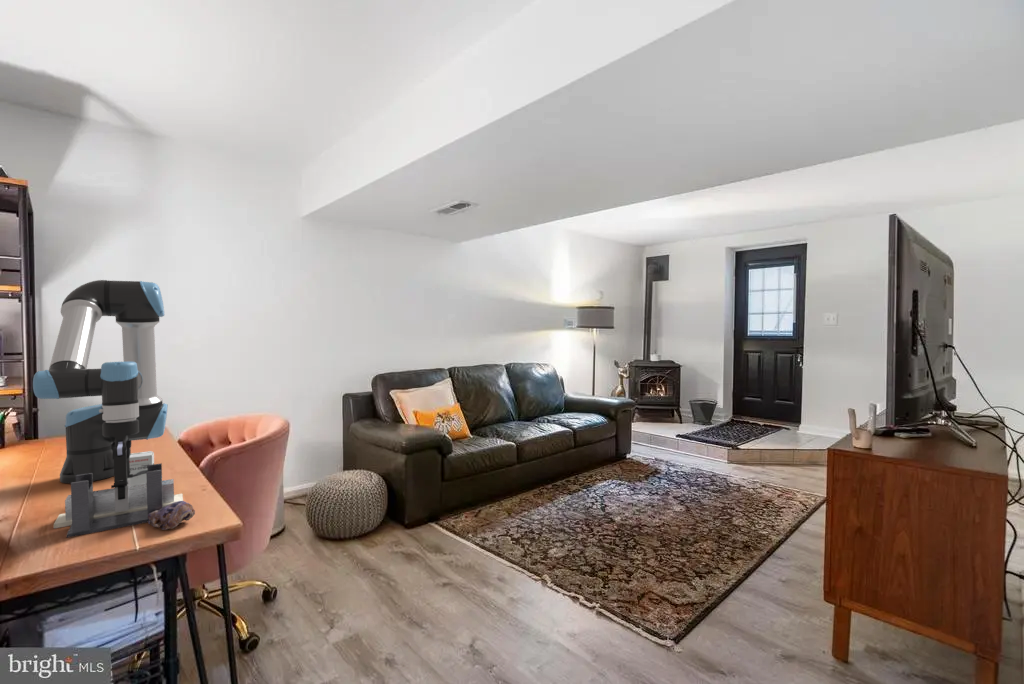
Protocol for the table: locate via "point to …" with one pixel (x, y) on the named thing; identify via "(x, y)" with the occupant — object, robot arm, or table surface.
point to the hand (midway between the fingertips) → (123, 507)
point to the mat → (62, 517)
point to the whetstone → (137, 498)
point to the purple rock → (171, 515)
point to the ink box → (140, 466)
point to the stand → (87, 524)
